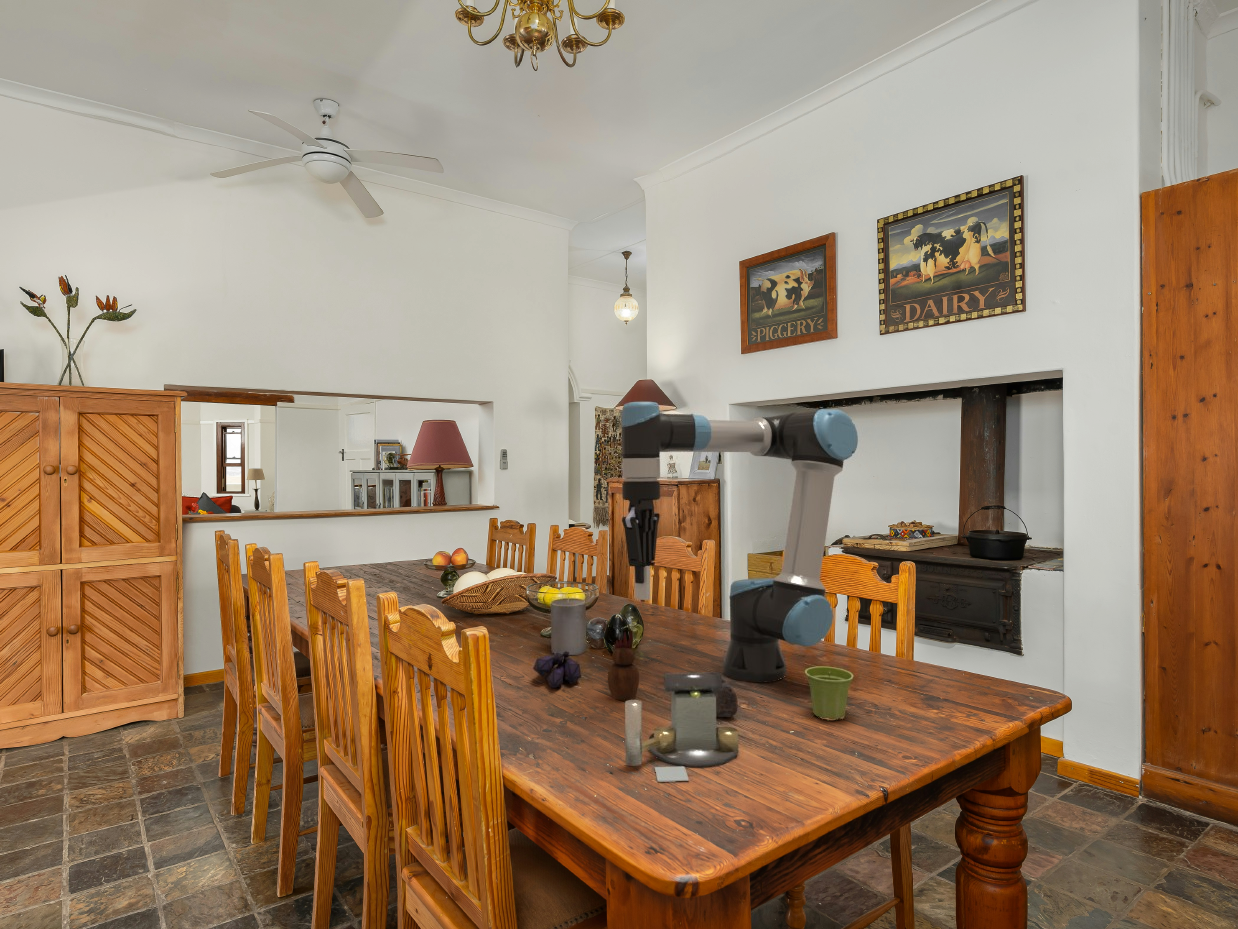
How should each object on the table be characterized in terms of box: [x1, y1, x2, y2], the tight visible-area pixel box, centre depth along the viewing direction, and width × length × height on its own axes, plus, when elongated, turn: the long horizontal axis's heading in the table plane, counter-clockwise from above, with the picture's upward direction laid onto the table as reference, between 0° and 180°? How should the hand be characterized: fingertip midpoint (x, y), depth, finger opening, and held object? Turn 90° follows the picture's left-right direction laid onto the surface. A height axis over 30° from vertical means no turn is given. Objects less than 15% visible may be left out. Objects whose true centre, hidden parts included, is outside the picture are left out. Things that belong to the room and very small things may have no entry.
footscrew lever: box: [624, 699, 675, 767], centre depth 116 cm, size 10×4×10 cm, turn 129°
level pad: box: [654, 766, 690, 783], centre depth 111 cm, size 5×5×1 cm
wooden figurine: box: [607, 629, 640, 701], centre depth 148 cm, size 7×6×15 cm
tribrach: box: [648, 671, 739, 768], centre depth 122 cm, size 16×16×13 cm
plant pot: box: [804, 666, 854, 720], centre depth 137 cm, size 9×9×9 cm
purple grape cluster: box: [532, 651, 582, 689], centre depth 162 cm, size 7×12×20 cm
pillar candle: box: [550, 596, 588, 656], centre depth 187 cm, size 10×10×15 cm
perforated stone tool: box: [713, 677, 739, 718], centre depth 141 cm, size 15×5×7 cm, turn 7°
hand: (642, 599), depth 134 cm, fingers closed
